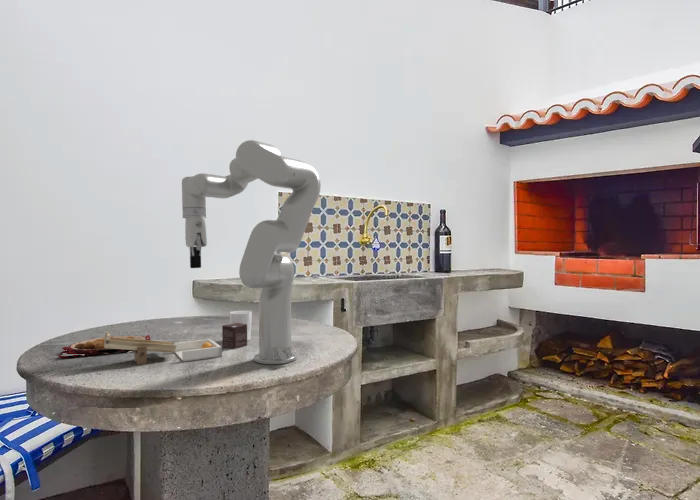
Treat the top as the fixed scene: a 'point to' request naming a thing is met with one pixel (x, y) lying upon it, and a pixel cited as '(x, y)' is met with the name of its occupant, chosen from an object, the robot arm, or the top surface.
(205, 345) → the ball
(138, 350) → the fulcrum
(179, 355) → the dish
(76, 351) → the plate with food
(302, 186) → the robot arm
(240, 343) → the box
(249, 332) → the white cup
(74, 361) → the top surface
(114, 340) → the lever
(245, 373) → the top surface
